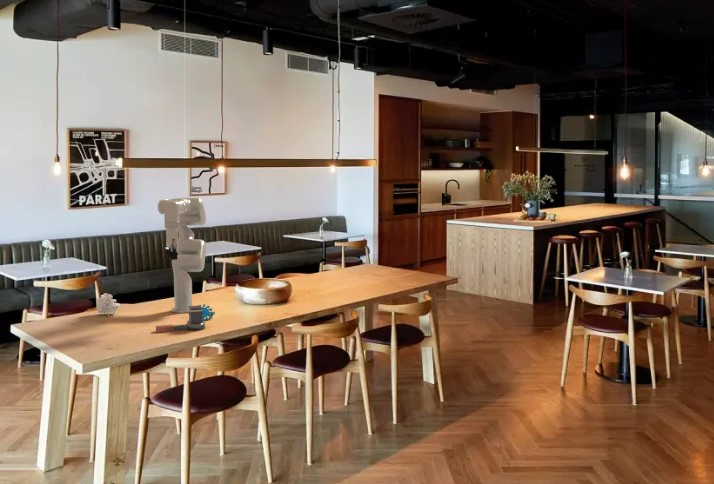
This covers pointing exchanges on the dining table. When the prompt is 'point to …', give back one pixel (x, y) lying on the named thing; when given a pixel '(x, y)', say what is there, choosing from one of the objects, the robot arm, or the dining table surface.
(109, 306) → the mechanical part
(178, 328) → the ratchet
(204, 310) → the blue spiky virus model
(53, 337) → the dining table surface
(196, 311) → the socket
